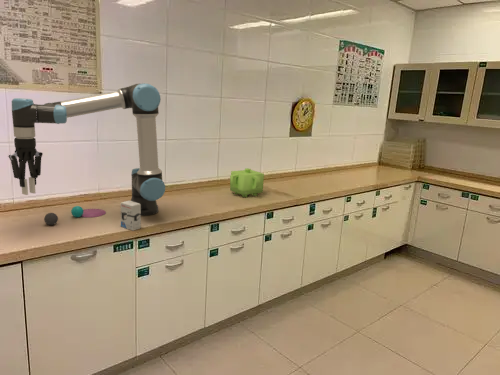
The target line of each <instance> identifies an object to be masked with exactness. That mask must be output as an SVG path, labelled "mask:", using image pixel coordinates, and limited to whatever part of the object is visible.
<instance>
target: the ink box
mask: <svg viewBox="0 0 500 375" xmlns="http://www.w3.org/2000/svg"><path fill="white" fill-rule="evenodd" d="M141 216H142V215H141V204H139V203H136V202H133V201H131V200H127V201H125V200H124V201H122V202H120V227H121V228H124V229H126V230H127V229H128V230H130V231H135V230H139V229H141V228H142V227H141V226H142V219H141V218H142V217H141Z"/></svg>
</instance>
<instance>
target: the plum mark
mask: <svg viewBox="0 0 500 375" xmlns="http://www.w3.org/2000/svg"><path fill="white" fill-rule="evenodd" d="M83 210H84V213H83V215H82V216H81V217H80V218H97V217H102V216H104V215H106V213H107V212H106V211H105V210H104V209H103V208H86V209H85V208H83Z"/></svg>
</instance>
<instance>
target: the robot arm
mask: <svg viewBox="0 0 500 375" xmlns="http://www.w3.org/2000/svg"><path fill="white" fill-rule="evenodd" d="M160 104H161V93H160V92H159V90H158V89H157V88H156V86H153V84H152V85H151V84H150V83H143V82H142V83H135V84H132V85H129V86H126V87H122V88H117V91H111V92H107V93H99V94H94V95H89V96H88V95H87V96H83V97H76V98H72V99H66V100H60V101H54V102H47V103H44V104H37V103H34V100H33V99H32V98H13V99H12V100H11V115H12V116H11V117H12V126H13V136H14V137H15V138H14V141H13V142H14V147H15V148H14V149H15V150H14V153H12V154H8V156H7V157H8V158H9V160H10V163H11V169H12V173H13V174H12V175H13V178H15V179H18V180H19V187H20V188H21V194H22V195H25V196H28V195H29V193H30V194H36V186H37V179H38V177H39V176H41V175H42V174H41V173H42V172H41V171H42V170H41V169H42V157H43V156H44V155H43V154H44V153H43V152H41V151H37V148H36V147H37V142H36V138H35V137H36V127H35V126H36V125H35V124H56V125H60V124H66V123H67V120H68V118H72V117H79V116H83V115H84V116H85V115H88V114H94V113H100V112H104V111H110V110H115V109H120V108H122V109H123V110H126V109H131V110H132V116H134V117H135V118H136V120H135V121H136V132H137V143H138V144H137V145H138V146H137V147H138V158H139V167H136V168H133V169H131V199H130V201H133V202H136V203H139V204H141V216H150V215H155V214H157V213H158V212H159V206H158V203H157V201H158V200H159V199H161V198H162V197H163V195H165V192H166V184H165V182H164V181H163V171H162V170H161V169H160V168H159V155H158V153H159V152H158V138H157V121H156V117H157V116H158V115H159V113H160V112H159V106H160ZM27 166H28V170H29V175H30V177H28V179H27V178H26V171H27V170H26V167H27ZM28 186H29V188H28ZM28 189H29V190H28Z"/></svg>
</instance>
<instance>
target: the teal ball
mask: <svg viewBox="0 0 500 375" xmlns="http://www.w3.org/2000/svg"><path fill="white" fill-rule="evenodd" d="M83 213H84V208H83V207H82V206H80V205H75V206H73V207H72V208H71V211H70V214H71V215H72V216H73V218H82V217H81V216H82V215H83Z"/></svg>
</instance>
